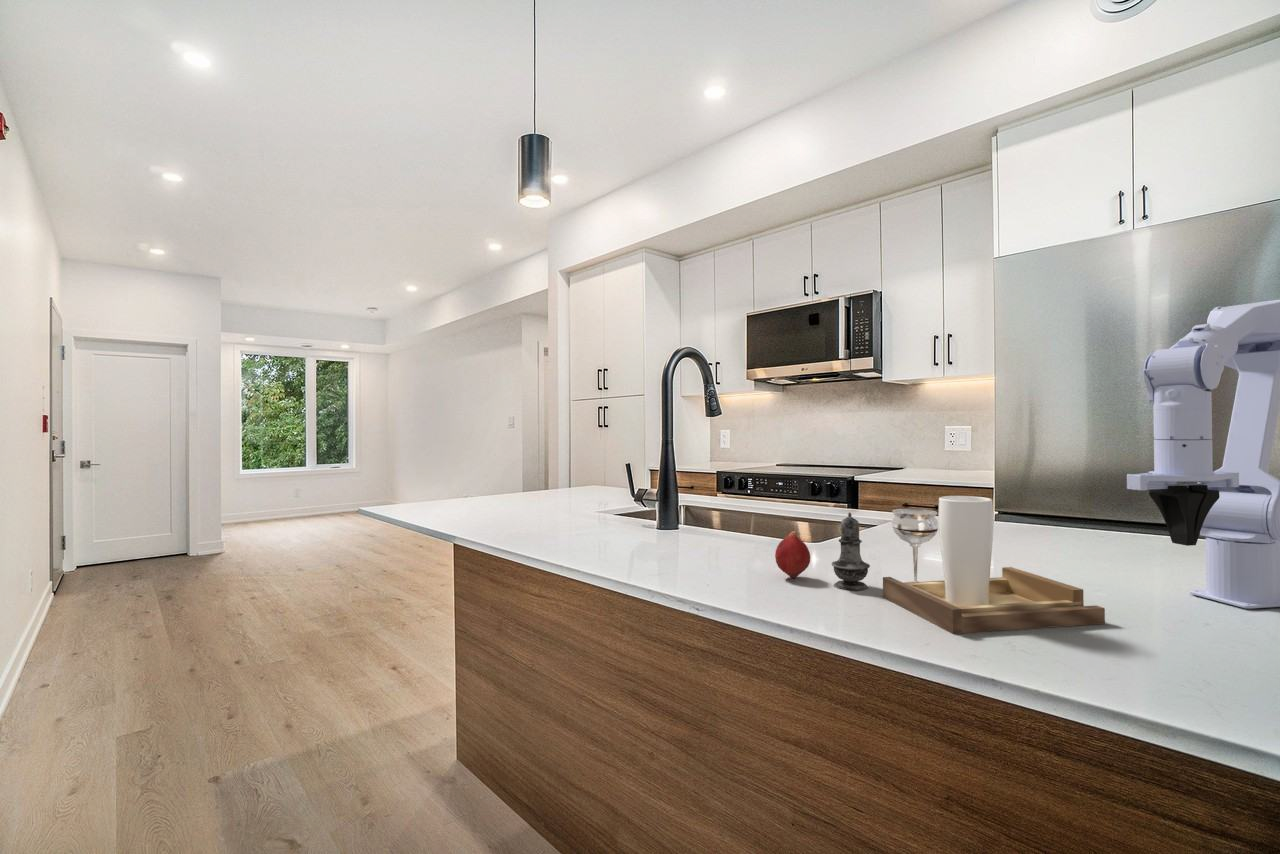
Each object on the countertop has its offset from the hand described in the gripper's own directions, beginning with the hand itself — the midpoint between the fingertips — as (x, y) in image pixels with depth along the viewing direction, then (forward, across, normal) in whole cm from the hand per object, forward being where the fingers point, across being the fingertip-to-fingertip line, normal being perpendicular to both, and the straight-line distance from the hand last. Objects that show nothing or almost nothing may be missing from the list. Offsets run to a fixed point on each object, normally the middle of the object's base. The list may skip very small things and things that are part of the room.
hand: (1183, 544), depth 80 cm
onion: (+10, +41, -31) cm, 52 cm away
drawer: (+10, +21, -9) cm, 25 cm away
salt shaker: (+10, +34, -24) cm, 43 cm away
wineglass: (+10, +24, -22) cm, 34 cm away
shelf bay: (+10, +21, -9) cm, 25 cm away
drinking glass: (+10, +24, -9) cm, 28 cm away
